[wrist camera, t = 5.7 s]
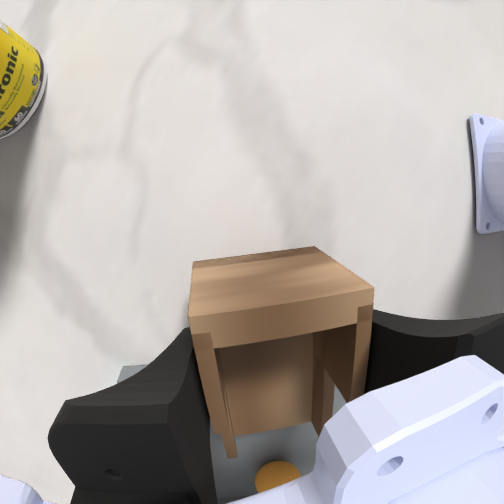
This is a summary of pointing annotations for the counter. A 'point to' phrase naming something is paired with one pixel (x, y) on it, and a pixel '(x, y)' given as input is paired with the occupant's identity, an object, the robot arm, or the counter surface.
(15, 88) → the supplement bottle
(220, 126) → the counter surface
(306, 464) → the tray
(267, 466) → the ball
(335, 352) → the box
